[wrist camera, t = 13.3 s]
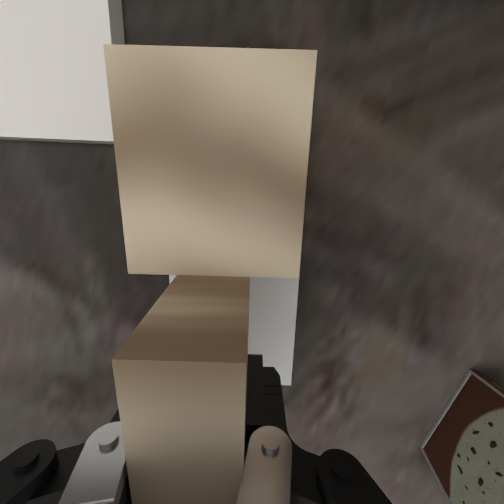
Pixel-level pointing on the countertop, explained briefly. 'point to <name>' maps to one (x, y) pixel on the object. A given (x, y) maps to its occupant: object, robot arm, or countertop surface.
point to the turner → (202, 245)
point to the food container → (469, 443)
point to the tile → (57, 69)
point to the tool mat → (272, 322)
